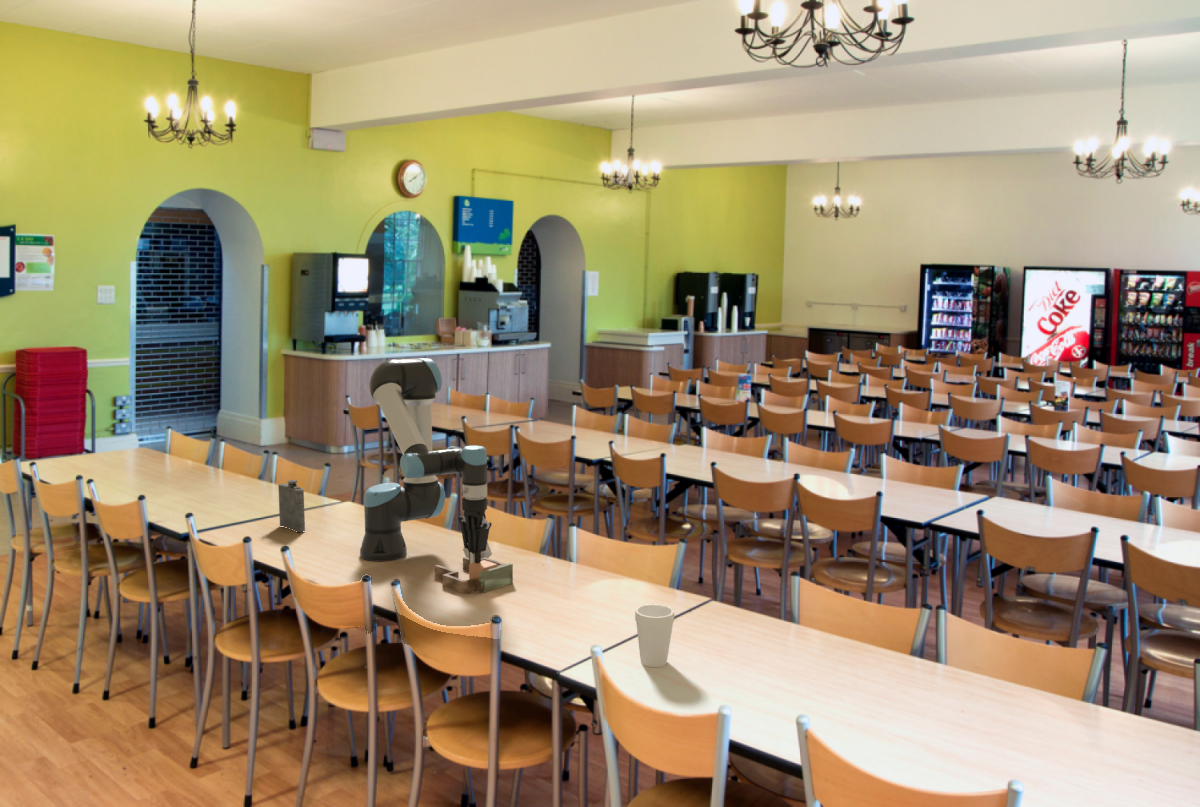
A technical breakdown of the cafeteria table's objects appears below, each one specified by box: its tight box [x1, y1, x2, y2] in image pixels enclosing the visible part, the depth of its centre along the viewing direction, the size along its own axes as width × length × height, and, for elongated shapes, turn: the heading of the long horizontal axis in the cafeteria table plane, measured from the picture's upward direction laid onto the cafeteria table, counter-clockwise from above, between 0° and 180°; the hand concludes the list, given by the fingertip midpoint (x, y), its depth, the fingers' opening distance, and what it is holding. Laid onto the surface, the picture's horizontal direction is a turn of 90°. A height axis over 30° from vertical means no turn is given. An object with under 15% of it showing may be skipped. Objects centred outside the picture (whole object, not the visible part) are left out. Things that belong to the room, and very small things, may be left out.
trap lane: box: [434, 556, 514, 595], centre depth 290 cm, size 22×20×6 cm
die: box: [462, 541, 493, 559], centre depth 307 cm, size 8×9×10 cm
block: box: [468, 560, 497, 580], centre depth 287 cm, size 6×6×6 cm
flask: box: [278, 479, 306, 533], centre depth 344 cm, size 4×14×18 cm, turn 49°
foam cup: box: [634, 603, 675, 668], centre depth 230 cm, size 10×9×13 cm
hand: (475, 572), depth 289 cm, fingers closed
